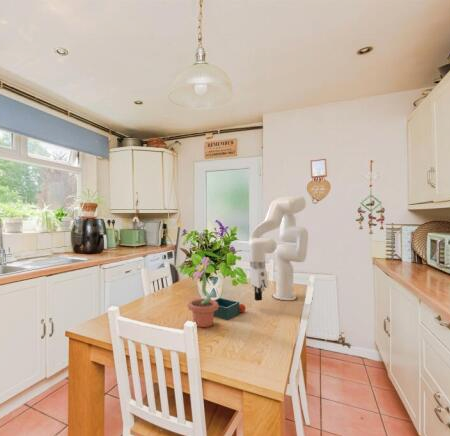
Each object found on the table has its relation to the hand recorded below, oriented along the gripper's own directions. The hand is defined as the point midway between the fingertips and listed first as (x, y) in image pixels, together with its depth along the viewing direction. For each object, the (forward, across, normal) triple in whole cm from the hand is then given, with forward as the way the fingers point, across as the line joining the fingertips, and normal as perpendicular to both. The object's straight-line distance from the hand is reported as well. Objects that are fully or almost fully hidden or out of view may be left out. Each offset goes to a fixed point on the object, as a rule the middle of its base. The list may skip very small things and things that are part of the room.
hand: (258, 299), depth 141 cm
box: (+5, -1, +20) cm, 20 cm away
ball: (+5, -1, +9) cm, 11 cm away
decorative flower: (+4, -10, +33) cm, 35 cm away
